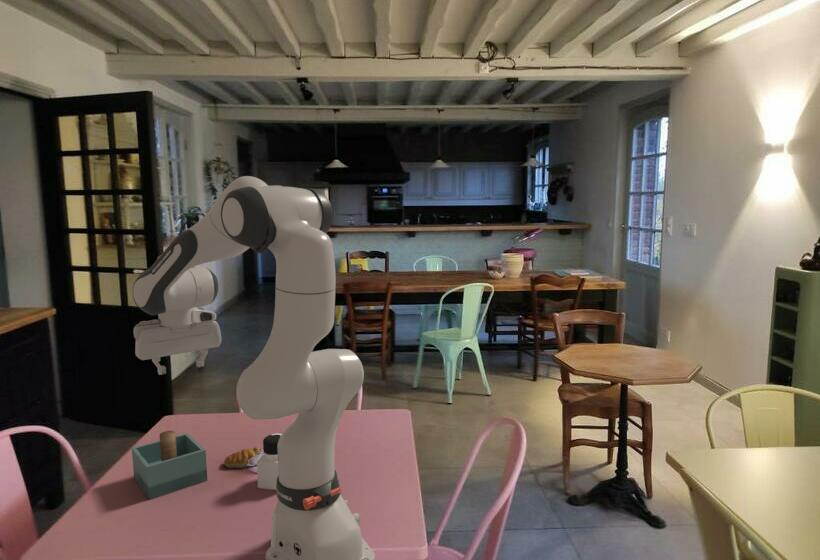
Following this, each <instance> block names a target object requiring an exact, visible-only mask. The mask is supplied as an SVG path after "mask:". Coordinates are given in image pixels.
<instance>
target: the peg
mask: <svg viewBox="0 0 820 560" xmlns="http://www.w3.org/2000/svg"><path fill="white" fill-rule="evenodd" d="M176 436H177V435H176V432H175V430H167V431H162V432H161V433H160V434H159V441H160V449H161V462H162V461H165V460H169V459H172V458H175V457H177V449H176Z"/></svg>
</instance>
